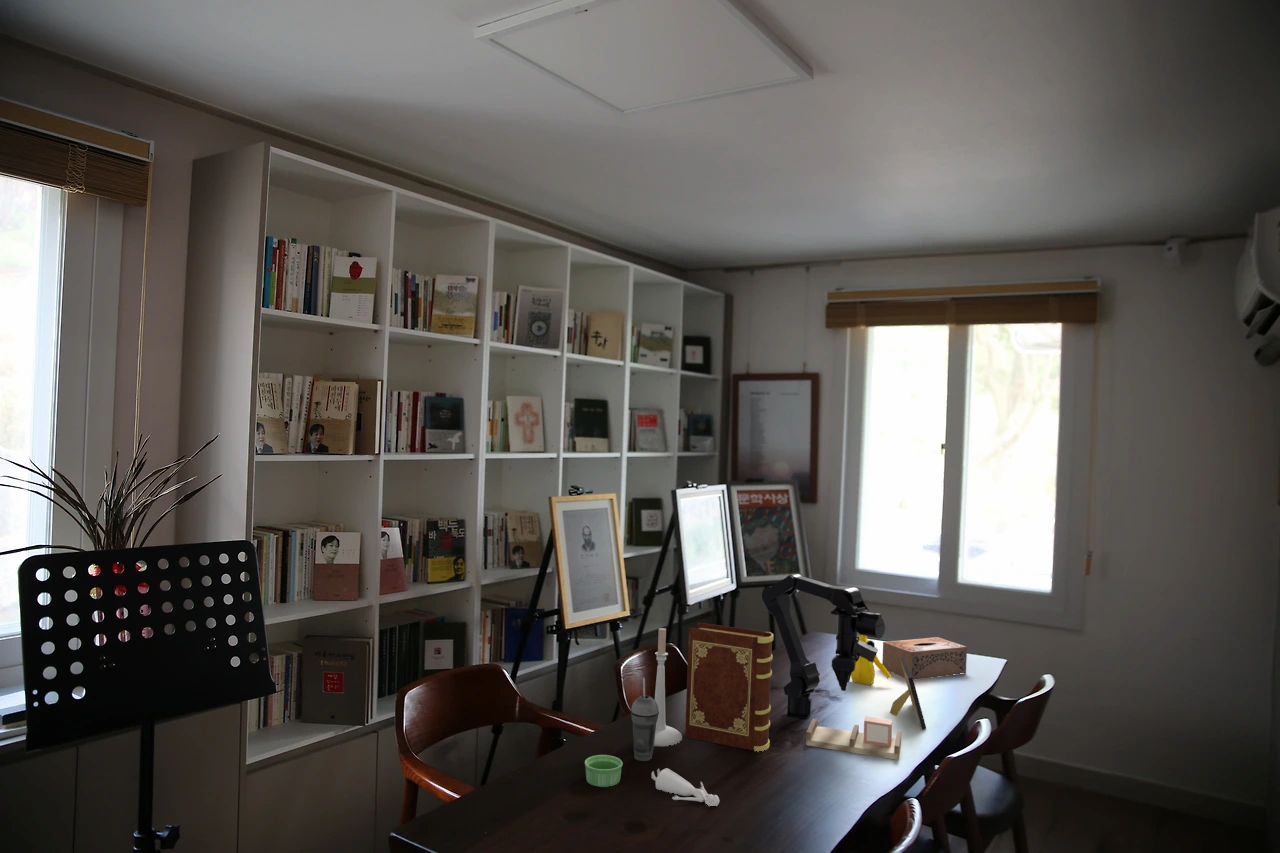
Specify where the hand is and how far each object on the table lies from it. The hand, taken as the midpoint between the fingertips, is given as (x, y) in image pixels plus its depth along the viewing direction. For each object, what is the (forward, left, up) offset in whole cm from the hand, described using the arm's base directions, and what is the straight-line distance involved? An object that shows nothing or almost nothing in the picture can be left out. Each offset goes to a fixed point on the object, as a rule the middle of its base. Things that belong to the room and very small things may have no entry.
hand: (845, 686), depth 240 cm
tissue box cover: (+20, +74, -12) cm, 78 cm away
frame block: (+10, -12, -10) cm, 19 cm away
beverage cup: (-45, -45, -12) cm, 65 cm away
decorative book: (-28, -24, -12) cm, 39 cm away
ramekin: (-49, -62, -12) cm, 80 cm away
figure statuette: (+1, +49, -12) cm, 51 cm away
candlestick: (-46, -30, -12) cm, 56 cm away
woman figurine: (-29, -61, -13) cm, 69 cm away
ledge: (+4, -12, -12) cm, 17 cm away
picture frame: (+16, +20, -12) cm, 28 cm away
